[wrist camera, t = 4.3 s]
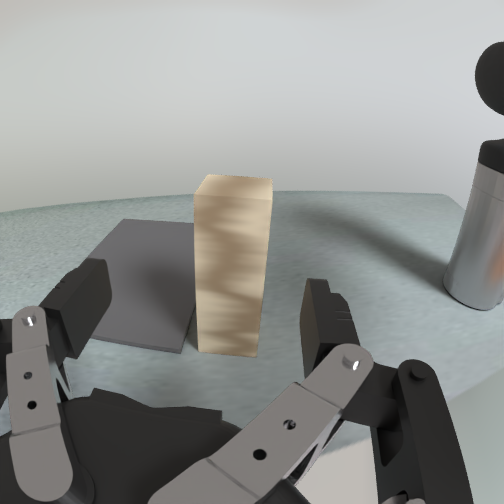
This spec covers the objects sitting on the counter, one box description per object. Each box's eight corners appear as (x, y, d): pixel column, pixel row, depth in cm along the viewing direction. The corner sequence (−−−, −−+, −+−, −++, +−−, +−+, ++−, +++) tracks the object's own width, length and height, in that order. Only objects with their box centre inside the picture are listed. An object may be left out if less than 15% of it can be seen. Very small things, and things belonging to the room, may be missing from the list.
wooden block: (258, 320, 31) (272, 178, 25) (256, 357, 27) (272, 199, 20) (207, 315, 31) (207, 174, 25) (198, 351, 27) (193, 194, 20)
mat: (220, 228, 49) (220, 225, 49) (180, 353, 27) (180, 349, 26) (123, 221, 50) (123, 218, 49) (34, 324, 27) (33, 321, 27)
